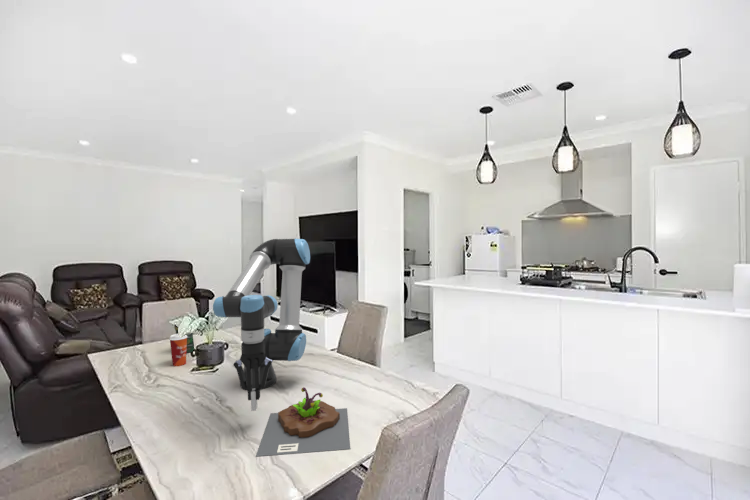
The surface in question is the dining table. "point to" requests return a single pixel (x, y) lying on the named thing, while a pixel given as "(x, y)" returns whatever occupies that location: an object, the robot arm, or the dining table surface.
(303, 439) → the label mat
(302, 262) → the robot arm
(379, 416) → the dining table surface
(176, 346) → the coffee cup
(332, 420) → the plant
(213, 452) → the dining table surface
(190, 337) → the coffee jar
